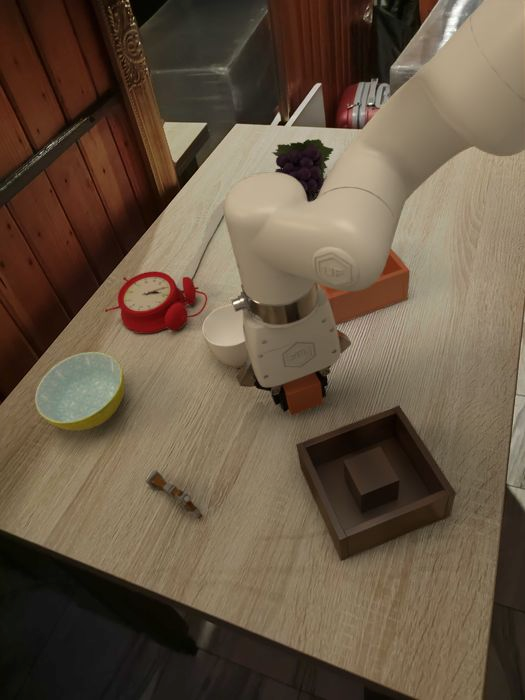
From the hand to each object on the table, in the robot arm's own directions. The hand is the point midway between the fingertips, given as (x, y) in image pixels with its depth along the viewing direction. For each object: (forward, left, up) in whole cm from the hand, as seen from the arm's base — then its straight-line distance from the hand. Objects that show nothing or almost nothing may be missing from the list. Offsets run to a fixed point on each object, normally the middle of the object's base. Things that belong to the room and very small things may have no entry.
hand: (300, 395), depth 69 cm
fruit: (-18, -44, -2) cm, 48 cm away
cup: (+4, -10, -2) cm, 11 cm away
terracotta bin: (-15, -16, -1) cm, 22 cm away
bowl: (+26, -10, -2) cm, 28 cm away
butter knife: (+3, -40, -1) cm, 40 cm away
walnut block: (-3, +15, -1) cm, 15 cm away
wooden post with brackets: (+18, +7, -2) cm, 20 cm away
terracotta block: (0, 0, 0) cm, 0 cm away
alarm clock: (+13, -25, -1) cm, 29 cm away
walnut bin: (-3, +15, -1) cm, 15 cm away
